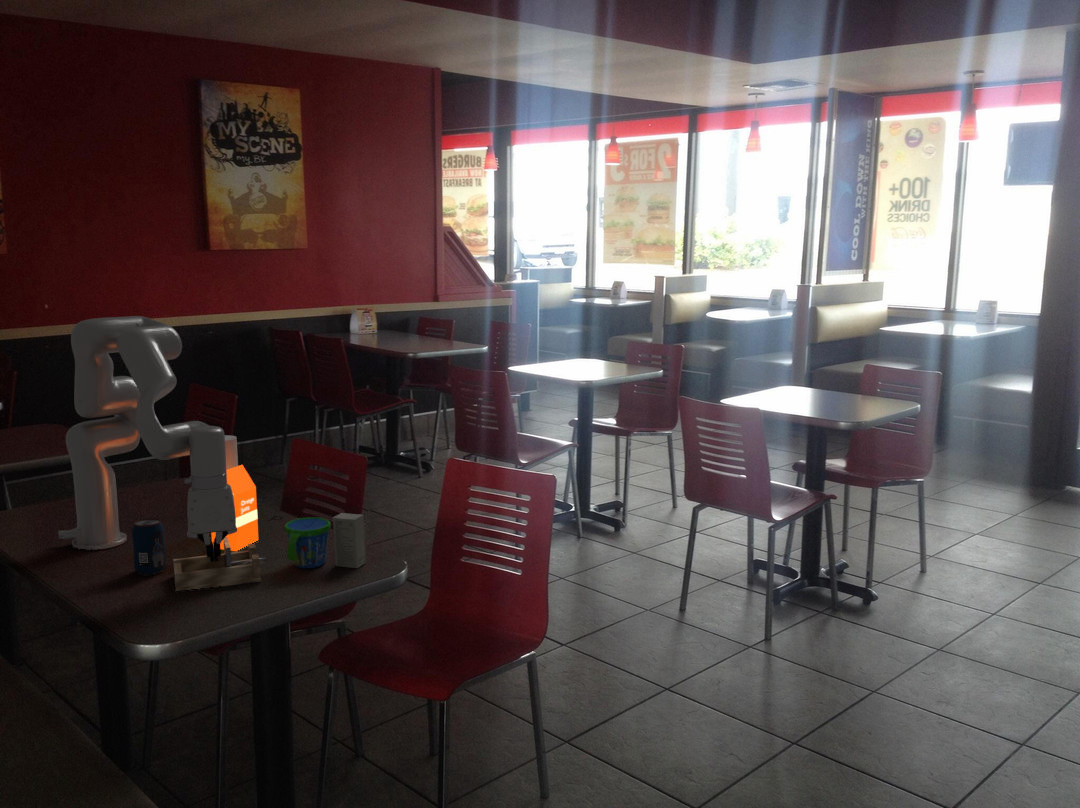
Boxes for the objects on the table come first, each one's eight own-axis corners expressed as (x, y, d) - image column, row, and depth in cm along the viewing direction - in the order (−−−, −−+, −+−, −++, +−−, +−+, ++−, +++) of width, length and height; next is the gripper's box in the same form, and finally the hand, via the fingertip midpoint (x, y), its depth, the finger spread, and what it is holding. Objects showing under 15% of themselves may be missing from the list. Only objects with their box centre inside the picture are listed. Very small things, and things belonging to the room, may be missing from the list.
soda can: (143, 565, 220) (139, 517, 218) (171, 566, 220) (168, 517, 218) (129, 576, 213) (125, 526, 211) (159, 576, 213) (155, 526, 211)
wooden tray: (175, 592, 203) (174, 568, 202) (174, 575, 214) (173, 552, 213) (260, 581, 210) (259, 558, 209) (255, 565, 220) (254, 543, 220)
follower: (227, 578, 209) (225, 548, 207) (224, 566, 216) (223, 537, 215) (268, 572, 212) (267, 543, 211) (264, 561, 220) (263, 532, 218)
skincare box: (366, 563, 222) (365, 514, 220) (357, 569, 218) (355, 519, 216) (343, 560, 225) (341, 511, 222) (333, 566, 220) (332, 516, 218)
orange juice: (211, 548, 233) (207, 470, 230) (234, 537, 241) (230, 463, 238) (237, 551, 231) (233, 473, 227) (259, 541, 239) (255, 465, 235)
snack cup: (308, 578, 213) (306, 535, 211) (270, 571, 216) (268, 530, 215) (346, 557, 227) (345, 517, 225) (310, 551, 231) (308, 512, 229)
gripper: (174, 488, 202) (179, 569, 205) (245, 482, 207) (249, 560, 210) (173, 480, 208) (178, 558, 211) (242, 474, 214) (246, 550, 217)
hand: (214, 559), depth 211 cm, fingers closed
